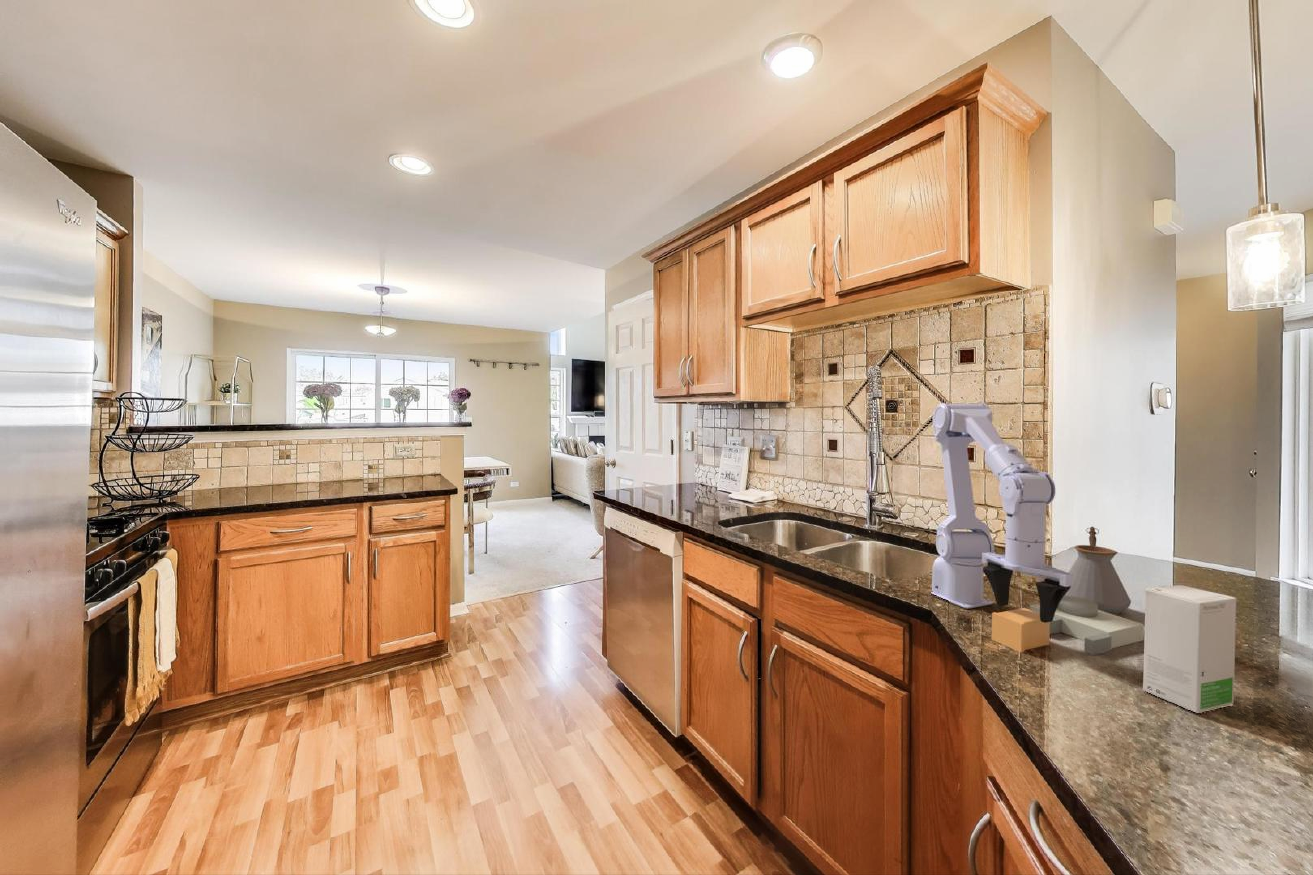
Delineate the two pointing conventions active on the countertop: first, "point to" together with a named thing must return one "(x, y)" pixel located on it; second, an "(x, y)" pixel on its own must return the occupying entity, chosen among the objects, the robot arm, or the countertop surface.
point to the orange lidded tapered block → (1020, 629)
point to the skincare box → (1189, 647)
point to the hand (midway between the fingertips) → (1023, 613)
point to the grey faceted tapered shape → (1098, 577)
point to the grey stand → (1092, 625)
